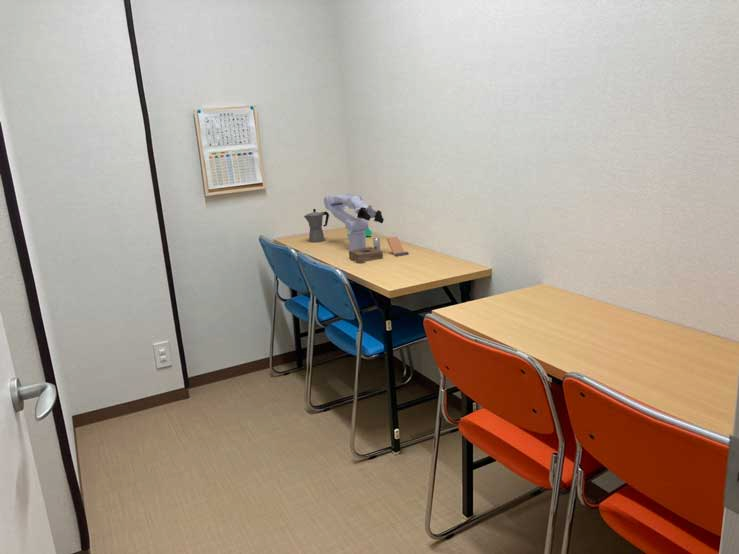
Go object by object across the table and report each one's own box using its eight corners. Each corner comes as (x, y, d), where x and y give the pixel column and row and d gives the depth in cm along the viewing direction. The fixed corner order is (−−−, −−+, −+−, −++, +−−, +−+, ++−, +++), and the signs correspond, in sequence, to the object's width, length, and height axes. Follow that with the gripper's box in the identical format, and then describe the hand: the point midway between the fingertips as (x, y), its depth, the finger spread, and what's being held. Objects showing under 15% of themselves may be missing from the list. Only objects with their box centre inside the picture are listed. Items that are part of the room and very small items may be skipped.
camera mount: (366, 235, 337) (365, 217, 334) (371, 237, 330) (370, 219, 328) (347, 237, 333) (346, 219, 330) (352, 239, 326) (351, 221, 323)
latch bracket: (394, 257, 279) (394, 253, 279) (406, 255, 282) (406, 251, 282) (396, 258, 278) (396, 254, 277) (408, 255, 281) (408, 252, 280)
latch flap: (386, 239, 285) (387, 237, 284) (396, 237, 288) (397, 236, 287) (394, 257, 281) (395, 255, 280) (404, 255, 283) (405, 253, 282)
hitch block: (349, 258, 282) (348, 250, 281) (371, 255, 286) (371, 247, 285) (359, 263, 271) (359, 255, 270) (382, 259, 276) (382, 251, 275)
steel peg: (372, 254, 288) (372, 238, 286) (378, 253, 290) (377, 237, 288) (375, 255, 286) (374, 239, 284) (381, 254, 287) (380, 238, 285)
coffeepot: (310, 243, 321) (307, 211, 316) (302, 241, 329) (299, 209, 324) (334, 239, 329) (332, 207, 324) (326, 237, 337) (324, 206, 332)
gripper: (353, 198, 282) (366, 209, 272) (377, 204, 291) (391, 214, 280) (348, 212, 285) (361, 223, 274) (372, 217, 293) (385, 228, 283)
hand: (376, 220), depth 278 cm, fingers open, 7 cm apart
